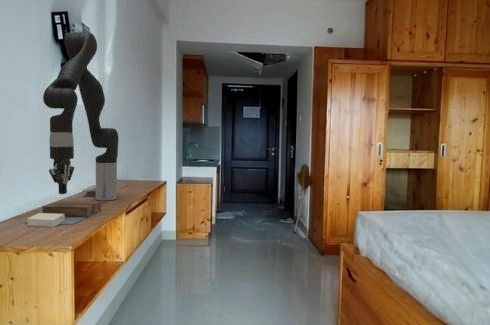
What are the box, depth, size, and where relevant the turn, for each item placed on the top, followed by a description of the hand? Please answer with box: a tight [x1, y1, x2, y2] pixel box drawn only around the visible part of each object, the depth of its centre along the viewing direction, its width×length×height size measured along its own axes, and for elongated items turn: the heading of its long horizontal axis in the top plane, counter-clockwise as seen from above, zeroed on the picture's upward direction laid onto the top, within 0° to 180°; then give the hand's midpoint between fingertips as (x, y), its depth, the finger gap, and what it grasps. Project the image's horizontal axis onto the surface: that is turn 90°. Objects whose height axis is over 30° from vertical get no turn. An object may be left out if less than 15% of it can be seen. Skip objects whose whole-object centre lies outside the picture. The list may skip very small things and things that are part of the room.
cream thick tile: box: [26, 212, 65, 228], centre depth 115 cm, size 6×9×2 cm, turn 87°
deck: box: [42, 200, 102, 219], centre depth 131 cm, size 12×16×4 cm
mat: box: [24, 217, 87, 226], centre depth 120 cm, size 10×16×1 cm, turn 89°
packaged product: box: [81, 184, 96, 197], centre depth 176 cm, size 18×5×10 cm
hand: (62, 193), depth 123 cm, fingers closed
